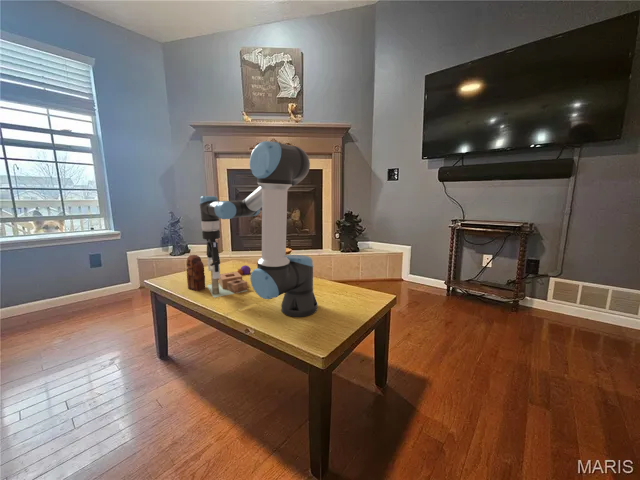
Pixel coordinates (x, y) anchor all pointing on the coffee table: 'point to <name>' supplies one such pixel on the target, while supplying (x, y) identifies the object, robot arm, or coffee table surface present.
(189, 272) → the wooden figurine
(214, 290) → the grey banded cylinder
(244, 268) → the kendama
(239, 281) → the brown holed brick
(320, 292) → the coffee table surface
